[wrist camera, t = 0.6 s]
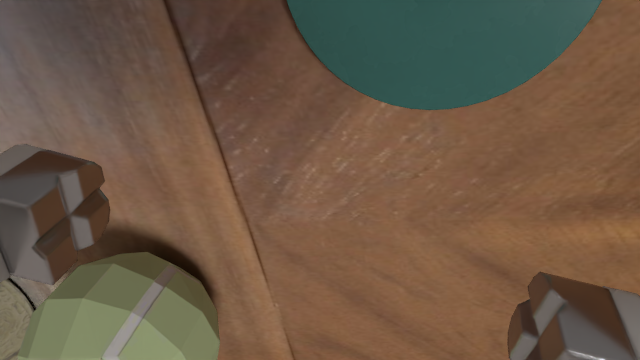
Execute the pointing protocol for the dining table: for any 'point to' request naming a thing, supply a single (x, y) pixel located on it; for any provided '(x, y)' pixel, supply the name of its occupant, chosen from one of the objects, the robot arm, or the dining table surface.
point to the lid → (439, 45)
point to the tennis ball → (124, 314)
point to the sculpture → (12, 319)
